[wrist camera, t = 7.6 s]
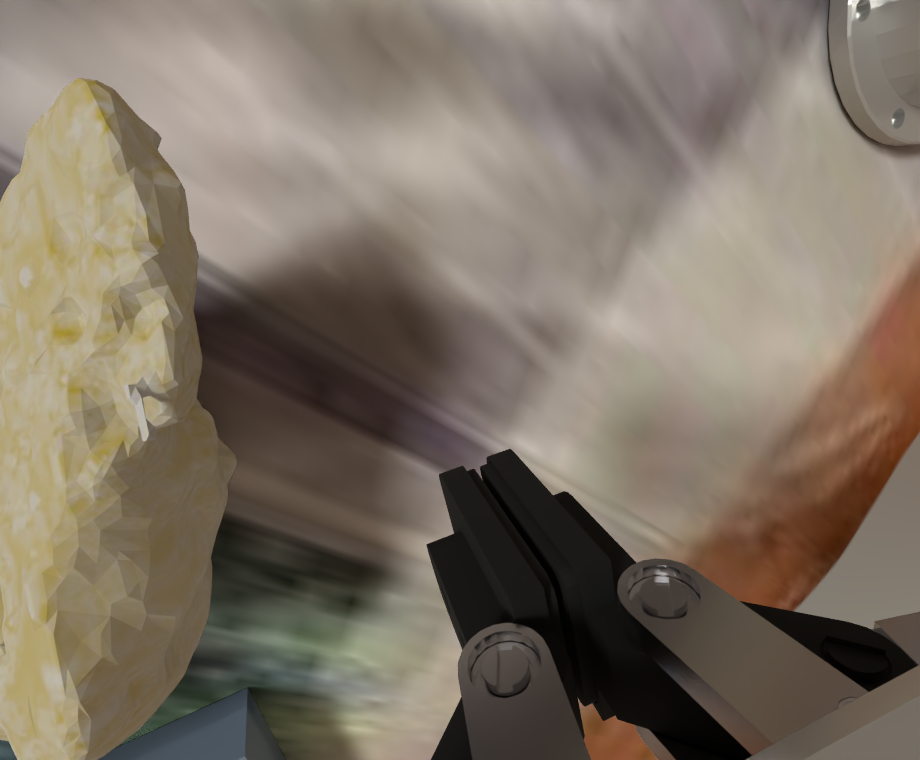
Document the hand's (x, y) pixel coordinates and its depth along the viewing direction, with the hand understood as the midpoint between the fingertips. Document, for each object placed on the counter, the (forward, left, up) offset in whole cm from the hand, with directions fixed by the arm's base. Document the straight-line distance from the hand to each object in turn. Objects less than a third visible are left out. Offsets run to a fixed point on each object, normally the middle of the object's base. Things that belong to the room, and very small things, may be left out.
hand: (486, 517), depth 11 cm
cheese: (+10, -3, -11) cm, 15 cm away
